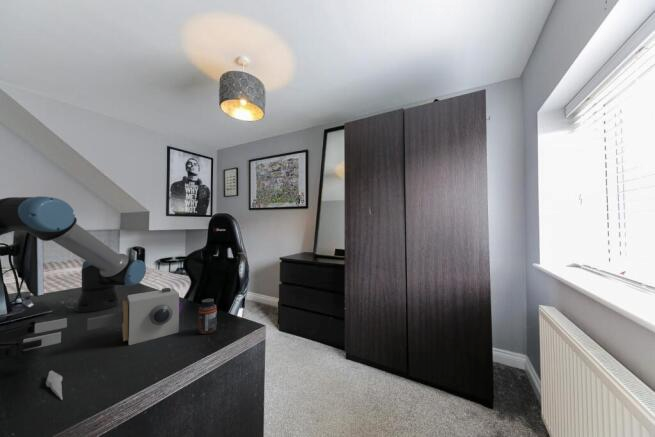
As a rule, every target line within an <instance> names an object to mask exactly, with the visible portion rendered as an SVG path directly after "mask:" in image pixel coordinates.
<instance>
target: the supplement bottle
mask: <svg viewBox="0 0 655 437" xmlns="http://www.w3.org/2000/svg"><path fill="white" fill-rule="evenodd" d="M217 309H218V308H217V305H216V304H215V300H214V298H206V299H202V300H201V306H199V307H198V323H197V324H198V326H197V328H198V333H199V334H201V335H206V334H207V335H208V334H211V333H214V332H215V331H216V330H217V320H218V319H217V313H218V312H217Z"/></svg>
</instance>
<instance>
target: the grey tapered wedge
mask: <svg viewBox="0 0 655 437" xmlns="http://www.w3.org/2000/svg"><path fill="white" fill-rule="evenodd" d="M47 375H48V376H47V377H46V381H45V385H46V387H48V388H50V389H51V391H52V392H53V394H54V395H55V396H56V397H58V398H59V399H60V400H61V401H63V399H64V398H63V390H62V389H63V387H62V382H63V376H62V375H60V374H59V373H57V372H55V371H53V370H50V371H49V372H48V374H47Z"/></svg>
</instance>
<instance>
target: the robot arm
mask: <svg viewBox="0 0 655 437" xmlns="http://www.w3.org/2000/svg"><path fill="white" fill-rule="evenodd" d="M77 221H78V218H77V217H76V215H75V213H74V209H73V207H72V206H71V205H70V204H69V203H68V202H67V201H64V200H63V199H60V198H57V197H50V196H27V197H25V196H22V197H21V196H20V197H19V196H18V197H17V196H14V197H5V198H0V236H2V235H5V234H6V235H7V234H9V233H14V232H26V233H29V234H30V235H32V236H33V237H35V238H37V239H38V240H41V241H42V242H50V241H52V242H54V243H55V244H57V245H59V246H60V247H62V248H64V249H66V250H67V251H68V252H71V253H72V254H74V255H75V256H77V257H79V258H81V259H83V260H84V261H83V262H82V266H81V293H80V296H79V298H78V300H77V302H76V304H75V312H77V313H90V312H97V311H103V310H106V309H110V308H115V307H117V306H118V305H119V304H120V297H119V295H118V292H117V290H116V286H128V287H129V286H135V285H138V284H139V283H141V282H142V281H143V279H144V278H145V276H146V273H147V266H146V263H145V262H144V261H143V260H139V259H133V258H131V257H130V256H128V255H127V254H125V253H118V252H116V251H115V250H113V249H112V248H110V247H109V246H108V245H107V244H105V243H104V242H102V241H101V240H99V239H98V238H97V237H95V236H94V235H93V234H92V233H90V232H89V231H88V230H86V229H85V228H83V227H81V226H80V225H79V224H78V223H77ZM67 327H68V317H65V318H61V319H60V318H59V319H54V320H49V321H43V322H38V323H36V320H32V321H30V322H27V323H24V324H20V325H16V326H15V325H14V326H12V327H8V328H7V327H6V328H3V329H0V359H4V358H5V359H6V358H12V357H19V356H22V355H23V352H25V351H29V350H33V349H34V350H35V349H39V348H42V347H43V348H44V347H47V346H51V345H56V344H60V343H62V341H61V340H62V331H59V332H54V333H49V334H45V335H39V336H35V337H34V336H33V337H29V338H24V339H23V341H12V340H16V339H19V338H22V337H25V336H28V335H30V334H33V333H34V334H39V333H45V332H51V331H56V330H59V329H60V330H61V329H65V328H67Z"/></svg>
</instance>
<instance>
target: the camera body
mask: <svg viewBox="0 0 655 437" xmlns="http://www.w3.org/2000/svg"><path fill="white" fill-rule="evenodd" d="M126 299H127V304H128V340H127V344H128V346H132V345H135V344H140V343H144V342H147V341H151V340H155V339H158V338H162V337H163V338H164V337H166V336H169V335H173V334H178V333H179V329H180V312H179V301H180V292H178V291H177V290H176V289H175V288H174V287H172V288H170V287H165V288H161V289H160V290H153V291H152V290H151V291H146V292H141V293H140V292H139V293H134V294H128V295H127V298H126Z"/></svg>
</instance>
